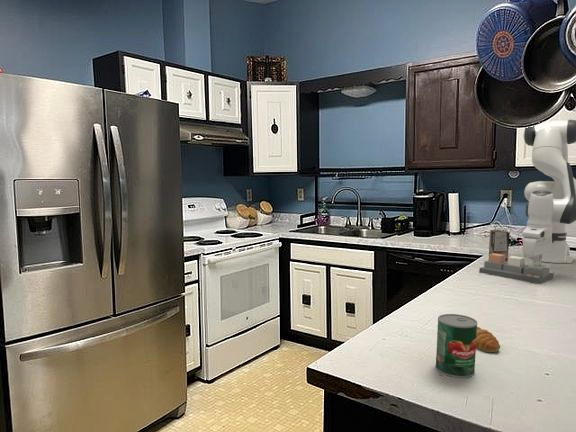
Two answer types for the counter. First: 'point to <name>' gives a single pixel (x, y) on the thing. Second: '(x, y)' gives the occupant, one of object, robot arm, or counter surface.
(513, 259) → the key cream
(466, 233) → the counter surface
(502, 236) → the coffee box
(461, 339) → the canned tomato
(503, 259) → the key rust
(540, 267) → the key sage
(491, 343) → the pastry
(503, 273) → the keypad base
